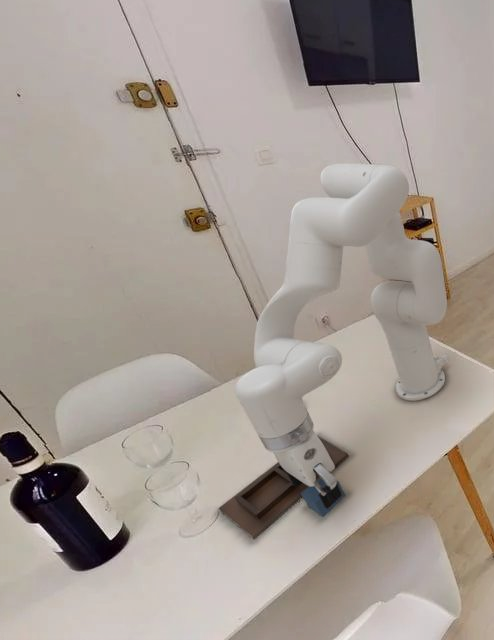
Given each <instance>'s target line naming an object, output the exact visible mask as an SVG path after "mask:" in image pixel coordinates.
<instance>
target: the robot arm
mask: <svg viewBox="0 0 494 640" xmlns="http://www.w3.org/2000/svg"><path fill="white" fill-rule="evenodd" d="M320 184H321V186H322V188H323V190H324V192H325V194H326V195H327V196H328V197H322V196H321V197H320V196H319V197H318V196H315V197H307V198H303V199H301V200H299V201H297V202H296V203H295V204H294V205H293V207H292V209H291V213H290V220H289V231H288V239H287V251H286V261H285V270H284V279H283V283H282V285H281V286H280V288H279V289H278V290H277V291H276V292H275V293H274V295H273V296H272V297H271V298H270V299H269V301H268V303H267V304H266V306H265V307H264V308H263V310H262V312H261V313H260V315H259V317H258V318H257V322H256V327H255V331H254V332H255V333H254V344H253V361H254V365H255V368H252V369H250V370H249V371H247V372H246V373H244V374H243V375H242V376H241V377H240V378H239V379H238V380H237V382H236V384H235V385H234V394H235V396H236V398H237V400H238V402H239V404H240V405H241V407H242V409H243V411H244V412H245V414H246V416H247V418H248V420H249V422H250V424H251V425H252V426H253V429H254V430H255V432H256V434H257V436H258V438H259V440H260V441H261V443H262V444H263V447H264V449H265V450H266V451H267V452H270V453H273V455H274V457H275V459H276V460H277V463H278V462H279V464H280V465H281V467H282V468H283V469H284V470H285V471H287V472H288V473H287V475H288V477H289V478H290V480H291V482H292V484H293V486H295V487H297V486H299V485H300V484H301V483H302V482H303V483H304V484H306V485H308V486H310V487H311V486H314V487H315V488H316V489H317V490H318V491H319V493H320V494H319V497H320V499H321V501H322V503H323V505H324V507H325V508H326V509H327V508H329V507H330V506H331V505H332V504H333V503H334V502H336V501H337V500H338V499H339V498H340V497H341V496H342V493H341V491H340V489H339V487H338V483H337V481H338V479H337V478H336V477H335V476H334V475H333V474H332V472H333V471H334V470H335V469H336V468H335V465H334V463H333V461H332V460H331V458H330V456H329V454H328V452H327V450H326V449H325V447H324V445H323V444H322V442H321V440H320V439H319V438H318V436H319V435H317V434H316V432H315V431H314V427H315V424H314V422H313V420H312V417H311V415H310V413H309V410H308V408H307V406H306V405H305V402H304V400H303V397H304V396H305V395H308V394H309V393H311V392H313V391H314V390H316V389H318V388H320V387H321V386H323V385H325V384H326V383H328V382H329V381H330V380H331V379H333V378H334V377H335V376H336V375H337V374H338V372H339V371H340V369H341V367H342V364H343V357H342V353H341V352H340V350H338V348H336V347H335V346H333V345H330V344H326V343H322V342H315V341H309V340H303V339H297V338H295V328H296V323H297V319H298V317H299V315H300V313H301V312H302V310H303V309H304V308H305V307H306V306H307V305H308V304H309V303H311V302H312V301H314V300H316V299H318V298H319V297H322V296H325V295H329V294H331V293H333V292H335V291H336V290H338V289H339V287H340V285H341V274H342V265H343V253H344V247H351V248H352V247H353V248H361V247H364V246H365V251H366V255H367V256H366V257H367V260H368V262H369V263H368V265H369V267H370V270H371V271H372V273H373V275H375V276H376V277H378V278H381V279H386V281H383V282H381V283H379V284H377V286H375V287H374V289H373V290H372V292H371V294H370V307H371V310H372V313H373V314H374V316H375V318H376V320H377V321H378V323H379V324H380V326H381V328H382V331H383V332H384V335H385V339H386V341H387V344H388V348H389V350H390V353H391V356H392V360H393V363H394V366H395V370H396V374H397V375H398V380H397V381H396V384H395V390H396V394H397V395H398V397H399V398H401V399H402V400H405V401H409V402H410V401H411V402H414V401H415V402H417V401H421V400H426V399H428V398H431V397H432V396H433V395H434V396H435V394H437V393H438V392H439V391H440V390H441V389H442V387H443V386H445V385H444V384H445V383H446V376H445V372H444V370H443V369H442V367H443V365H444V364H446V363H447V362H448V361H449V360H450V356H449V355H448V354H443V356H441V357H439V355H436V354H435V355H434V352H433V349H432V344H431V340H430V336H429V332H428V329H427V326H432V325H433V326H434V325H436V324H439V323H440V322H442V320H443V319H444V317H445V316H446V313H447V307H448V296H447V290H446V288H447V287H446V281H445V275H444V268H443V262H442V257H441V254H440V252H439V250H438V248H437V247H436V246H435V245H434V244H433V243H431V242H429V241H427V240H421V239H411V238H408V237H407V235H406V232H405V227H404V223H403V218H402V215H401V212H400V211H401V209H402V208H403V206H404V205H405V203H406V202H407V199H408V197H409V192H410V184H409V180H408V178H407V176H406V174H405V173H404V172H403V171H402V170H401V169H400V168H398V167H396V166H394V165H389V164H376V163H374V164H373V163H359V162H358V163H356V162H355V163H354V162H340V163H339V162H338V163H333V164H329V165H328V166H325V167H324V168H323V169H322V171H321V173H320ZM330 472H331V473H330ZM316 474H317V475H318V476H319V478H317V479H316ZM321 480H323V481H324V482H325V483H326V486H325V487H324V488H322V487H321V486H320V484H319V483H318V482H320V481H321Z"/></svg>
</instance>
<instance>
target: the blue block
mask: <svg viewBox="0 0 494 640" xmlns="http://www.w3.org/2000/svg"><path fill="white" fill-rule="evenodd" d="M318 483H319V484H320V486H321V487H322V488H324V487H325V486H326V483H325V482H324V481H323V480H321V481H320V482H318ZM337 483H338V487H339V489H340V491H341V493H342V496H341V497H340V498H339V499H338V500H337V501H336V502H334V503H333V504H332V505H331V506H330V507H329V508H327V509H326V508H325V507H324V505H323V503H322V501H321V499H320V497H319V494H320V493H319V491H318V490H317V489H316V488H315V487H314V486H311V487H310V486H309V487H308V488H306V489H305V490H304V491H303V492H302V493H301V495H302V498H303V500H304V502H305V503H306V505H307V507H308V508H309V509H310V510H311V511H313V512H314V513H315V514H317V515H319V516H320V517H321V518H324V517H325V516H326V515H327V514H328V513H329V512H331V510H333V509H334V507H336V506H337V505H338V504H339V503H340V502H341V501H342V500H343V499H344V498H345V497H346V493H345V491H344V490H343V487H342V485H341V483H340V482H339V481H338V480H337Z"/></svg>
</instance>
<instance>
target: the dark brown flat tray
mask: <svg viewBox="0 0 494 640" xmlns="http://www.w3.org/2000/svg"><path fill="white" fill-rule="evenodd" d="M317 436H318V438H319V439H320V440H321V442H322V444H323V445H324V447H325V449H326V450H327V452H328V454H329V456H330V458H331V460H332V461H333V463H334V465H335V469H336V468H338V467H339V466H340V465H341V464H342V463H343V462H345V460H346V459H348V458H349V457H350V455H349V454H348V452H346V451H345V450H343V449H341V448H339V447H338V446H336V445H334V444H333V443H331V442H330V441H327V440H325V439H324V438H322V437H320V436H319V435H317ZM287 473H288V472H287V471H285V470H284V469H283V468H282V467H281V465H280V464H279V462H278V461H277V462H276V463H274V465H272V466H271V467H270V468H268V469H267V470H266V471H265V472H264V473H262V474H261V475H259V476H258V477H257V478H256V479H254V480H253V481H252V482H250V483H249V484H247V486H245V487H243V489H241V490H240V491H239V492H237V493H236V494H235V495H234V496H232V497H230V498H229V499H228V500H227V501H226V502H225V503H223V504H222V505H221V506H219V507H218V510H219V511H220V512H221V513H222V514H223V515H224V516H226V517H227V518H228V519H229V520H230V521H232V522H233V523H234V524H235V525H236V526H238V527H239V528H240V530H242V531H243V532H245V533H246V534H247V535H248V536H249V537H250V538H251V539H253V540H255V539H257V538H258V536H260V535H261V534H263V532H264V531H266V529H268V528H269V527H270V526H272V525H273V523H275V522H276V521H277V520H278V519H280V518H281V516H283V515H284V514H285V513H286V512H287V511H289V509H291V508H292V507H293V506H294V505H295V504H297V503H298V502H299V501H300V500H301V499H302V498H303V497H302V495H301V493H302V492H303V491H304V490H305V489H306V488H308V487H309V486H308V485H306V484H304V483H303V482H302V483H301V484H300V485H299V486H297V487H295V486H293V484H292V482H291V480H290V478H289V477H288V475H287ZM330 473H331V474H332V472H330ZM317 478H319V476H318V475H317V474H316V479H317Z"/></svg>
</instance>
